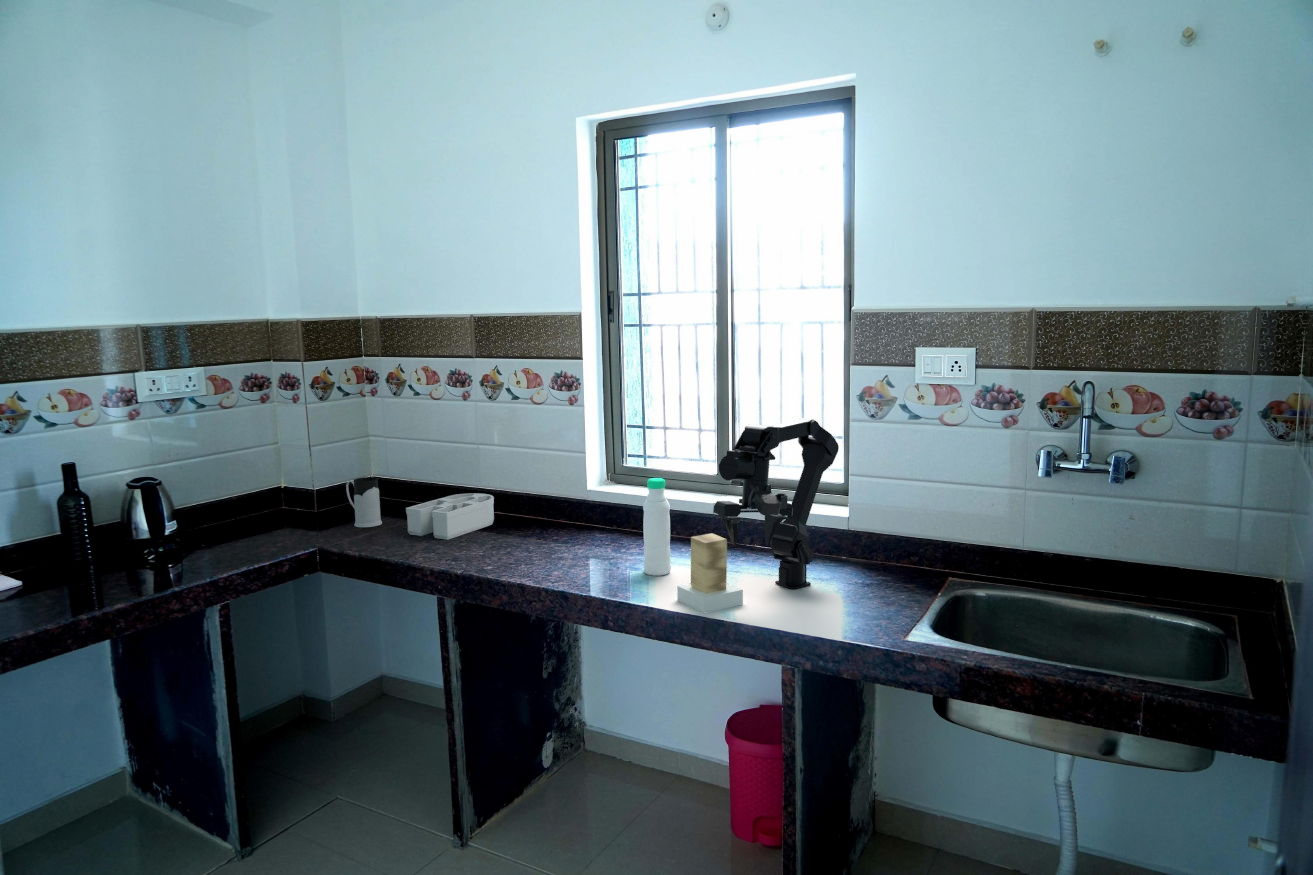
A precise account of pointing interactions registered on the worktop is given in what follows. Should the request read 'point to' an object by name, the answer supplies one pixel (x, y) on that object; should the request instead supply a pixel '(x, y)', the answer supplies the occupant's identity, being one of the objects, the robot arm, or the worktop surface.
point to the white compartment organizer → (451, 515)
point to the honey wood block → (708, 563)
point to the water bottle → (656, 529)
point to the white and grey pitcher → (366, 502)
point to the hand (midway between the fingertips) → (751, 544)
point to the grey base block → (710, 597)
